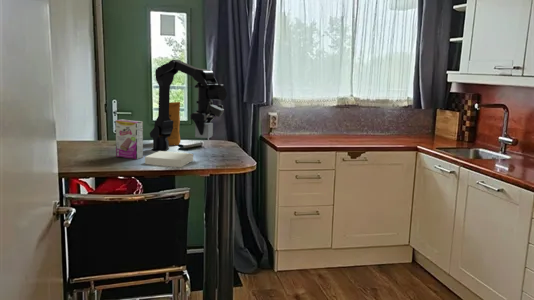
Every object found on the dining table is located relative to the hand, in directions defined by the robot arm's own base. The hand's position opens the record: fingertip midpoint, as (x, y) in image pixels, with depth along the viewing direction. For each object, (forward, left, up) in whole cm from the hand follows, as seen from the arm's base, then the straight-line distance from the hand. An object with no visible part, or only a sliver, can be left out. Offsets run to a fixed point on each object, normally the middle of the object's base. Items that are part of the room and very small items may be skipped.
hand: (204, 133), depth 208 cm
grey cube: (0, 0, -1) cm, 1 cm away
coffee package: (-29, +27, -12) cm, 41 cm away
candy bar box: (-31, -10, -12) cm, 35 cm away
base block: (-11, -12, -11) cm, 20 cm away
